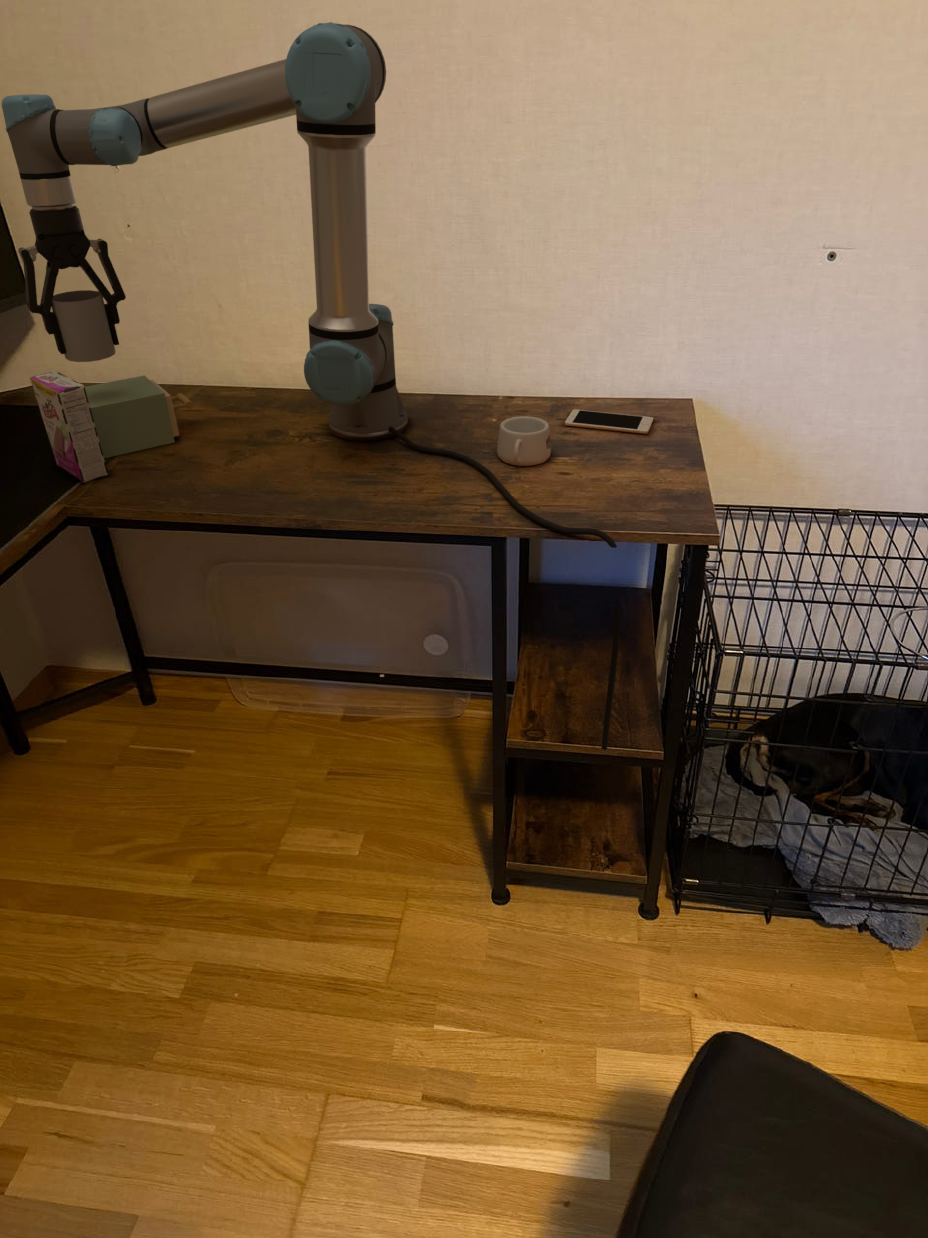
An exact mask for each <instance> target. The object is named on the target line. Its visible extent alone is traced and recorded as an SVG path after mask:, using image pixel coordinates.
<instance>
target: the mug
mask: <svg viewBox="0 0 928 1238" xmlns="http://www.w3.org/2000/svg"><path fill="white" fill-rule="evenodd" d="M550 431H551V430H550V424H549V422H547V421H546V420H545V419H543V418H540V417H536V416H530V415H528V416H527V415H523V416H522V415H521V416H512V417H509V418H507V419H504V420H502V422H500V424H499V431H498V440H497V446H496V455H497V456H498V458H499V459H500V460H501V461H502V462H503V463H506V464H509V465H513V466H520V467H528V466H535V465H540V464H543V463H544V462H546V461H547V460H548V459H550V457H551V453H552V444H551V432H550Z"/></svg>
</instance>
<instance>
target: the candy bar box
mask: <svg viewBox="0 0 928 1238" xmlns="http://www.w3.org/2000/svg"><path fill="white" fill-rule="evenodd" d="M29 380H30V383H31V386H32V390H33V392H34V396H35V399H36V402H37V405H38V409H39V413H40V416H41V419H42V421H43V424H44V428H45V430H46V434H47V438H48V441H49V444H50V448H51V450H52V454H53V457H54V460H55V464H56V466H57V467H59V468H61V469H62V470H64V471H65V472H66V473H68V474H70V475H71V476H73V477H74V478H76V479H77V480H79V481H80V482H82V483H83V484H85V483H89V482H92V481H95V480H97V479H101V478H104V477H107V476H109V472H108V468H107V464H106V459H105V458H104V456H103V452H102V449H101V445H100V442H99V438H98V434H97V431H96V427H95V423H94V419H93V416H92V412H91V408H90V405H89V401H88V398H87V394H86V390H85V387H86V385H84V384H82V383H80V382H78V381H77V380H75V379H73V378H71V377H68V376H67V375H65V374H63V373H61V372H60V371H57V370H53V371H50V372H44V373H40V374H35V375H33V376H30V377H29Z"/></svg>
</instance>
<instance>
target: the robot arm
mask: <svg viewBox="0 0 928 1238" xmlns="http://www.w3.org/2000/svg"><path fill="white" fill-rule="evenodd" d="M386 65H387V64H386V60H385V57H384V55H383V51H382V49H381V47H380V46H379V44H378V42H377V41H376V40H375V39H374V37H373V36H372V35H371V34H369V32H367V31H366V30H364V29H363V28H361V27H358V26H355V25H351V24H344V23H343V24H342V23H336V22H332V21H329V22H319V23H317V24H314V25H312V26H310V27H308V28H306V29H305V30H303V31H302V32H300V34H299V35H298V36H296V38H295V39H294V41H293V42H292V43H291V45H290V47H289V49H288V52H287V54H286V57H285V59H281V60H276V61H274V62H269V63H267V64H264V65H260V66H257V67H252V68H250V69H245V70H242V71H238V72H236V73H232V74H231V73H230V74H228V75H225V76H221V77H217V78H214V79H210V80H207V81H203V82H200V83H196V84H193V85H189V86H186V87H181V88H178V89H175V90H171V91H168V92H164V93H161V94H157V95H154V96H151V97H147V98H143V99H139V100H136V101H132V102H128V103H125V104H119V105H114V106H113V105H112V106H106V107H97V108H89V109H88V108H87V109H59V108H56V107H57V106H56V105H55V103H54V100H53V98H52V97H51V96H50V95H48V94H36V93H35V94H13V95H6V96H3V98H2V100H1V109H2V114H3V118H4V123H5V131H6V133H7V137H8V138H9V142H10V145H11V149H12V152H13V155H14V159H15V164H16V166H17V169H18V174H19V178H20V182H21V186H22V190H23V194H24V198H25V202H26V205H27V206H29V207H31V208H30V210H29V212H28V213H29V217H30V222H31V225H32V228H33V231H34V235H35V242H34V245H32V246H28V247H19V248H18V254H19V256H20V258H21V261H22V263H23V273H24V274H23V275H24V288H25V299H26V308H27V309H28V310H29V311H30V313H32V314H38V315H40V316H41V318H42V322H43V325H44V330H45V331H46V333H47V334H48V335H53V337H54V341H55V345H56V348H57V351H58V352H59V353H60V355H64V354H66V351H65V348H64V344H63V340H62V336H61V333H60V329H59V325H58V322H57V318H56V315H55V314H54V313H53V311H51V310H52V307H51V306H52V300H53V296H54V295H55V290H56V284H57V278H58V276H59V272H60V270H65V269H68V268H81V270H82V271H83V272H84V273H85V275H86V276H87V279H89V280H90V282H91V283H92V285H93V286H94V287H95V289H96V291H98V292H100V293H102V296H103V300H104V302H106V303H104V304H105V309H106V313H107V317H108V322H109V326H110V330H111V334H112V338H113V343H114V346H119V345H120V341H119V337H118V332H117V329H116V325H119V324H120V321H121V319H120V316H119V311H118V303H120V302H121V301H125V300H126V297H127V296H126V294H125V291H124V289H123V286H122V285H121V281H120V279H119V277H118V274H117V272H116V270H115V268H114V265H113V263H112V261H111V257H110V255H109V246H108V242H107V241H106V240H104V239H102V238H97V239H89V237H88V236H87V234H86V233H85V228H84V225H83V220H82V216H81V212H80V208H79V207H78V206H77V205H75V204H76V203H77V201H78V200H77V195H76V192H75V188H74V183H73V179H72V176H71V171H70V166H76V165H81V166H110V167H118V166H124V165H125V166H126V165H127V166H128V165H134V164H135V163H137V162H138V161H139V157H144V156H148V155H152V154H155V153H157V152H160V151H164V150H167V149H170V148H174V147H179V146H182V145H186V144H188V143H194V142H197V141H202V140H205V139H209V138H213V137H217V136H221V135H224V134H228V133H231V132H235V131H239V130H243V129H247V128H250V127H255V126H259V125H262V124H266V123H270V122H273V121H274V122H275V121H278V120H281V119H286V118H289V117H293V116H295V118H296V131H297V132H296V133H297V134H298V135H299V136H300V137H301V139H302V140H303V141H304V142H305V143H306V145H307V147H308V148H307V149H308V164H309V165H308V167H309V186H310V187H309V188H310V203H311V206H310V207H311V222H312V241H313V257H314V258H313V260H314V261H313V262H314V276H315V277H314V281H315V297H316V298H315V299H316V308H315V311H314V312H313V313H312V314H311V315H310V316H309V317H308V338H309V340H308V341H309V350H308V352H307V353H306V354H305V355H306V356H305V359H304V363H303V374H304V380H305V382H306V384H307V386H308V388H309V390H310V391H311V392H312V393H313V394H314V395H315V396H317V398H318V399H320V400H321V401H322V402H324V403H326V404H329V405H331V407H330V412H329V415H328V427H329V431H330V433H331V434H332V435H333V436H336V437H337V438H339V439H343V440H347V441H354V442H372V441H380V440H386V439H390V438H393V437H395V436H396V437H397V438H399V440H401V441H403V443H405V444H406V445H407V446H409V447H410V448H411V449H414V450H416V451H419V452H422V453H426V454H433V455H441V456H446V457H451V458H455V459H458V460H461V461H463V462H465V463H467V464H469V465H471V466H472V467H474V468H476V469H477V470H478V471H480V472H481V473H482V474H484V475H485V476H486V477H487V479H489V480H490V481H491V482H492V484H493V485H494V487H496V489H497V490H498V491H499V492H500V493H501V494H502V495H503V497H505V499H506V500H507V501H508V502H509V504H510V505H512V506H513V508H515V509H516V510H517V511H518V512H520V513H521V514H522V515H524V516H525V517H527V518H528V519H530V520H532V522H533V521H534V522H535V523H537V524H539V525H540V526H543V527H546V528H548V529H550V530H553V531H555V532H558V533H562V534H567V535H587V536H594V537H598V538H599V539H602V540H603V541H604V542H606V544H607V545H608V546H609V547H610V548H612V549H616V548H618V546H617V544H616V542H615V540H613V538H612V537H611V536H610V535H608V534H607V533H605V532H604V531H602V530H600V529H596V528H591V527H590V528H589V527H566V526H562V525H560V524H557V523H554V522H552V521H550V520H547V519H544V518H543V517H541V516H539V515H537V514H535V513H533V512H532V511H531V510H529V509H527V508H526V507H524V506H523V505H522V504H520V502H519V501H517V500H516V499H515V498H514V496H513V495H512V494H511V493H510V491H508V489H507V488H505V486H504V485H503V484H502V483H501V482H500V480H499V479H498V478H497V477H496V476H495V474H494V473H493V472H491V471H490V470H489V469H488V468H487V467H485V466H484V465H483V464H481V463H480V462H478V461H477V460H476V459H473V458H471V457H469V456H466V455H464V454H461V453H460V452H457V451H454V450H449V449H443V448H442V449H440V448H433V447H429V446H428V447H427V446H424V445H420V444H417V443H415V442H414V441H412V440H411V439H410V438H409V437H407V436H406V435H405V434H403V433H404V432H405V431H406V430H407V429H408V426H409V421H408V413H407V411H406V408H405V406H404V403H403V400H402V398H401V395H400V393H399V390H398V387H397V381H396V380H397V378H396V361H395V359H396V358H395V345H394V344H395V343H394V328H393V327H394V321H393V317H392V315H393V314H392V311H391V309H390V308H389V306H387V305H384V304H378V303H370V302H369V301H370V295H369V291H370V290H369V289H370V288H369V286H370V285H369V243H368V236H369V235H368V195H367V193H368V192H367V191H368V190H367V147H368V145H369V144H370V142H371V141H373V139H374V138H375V137H376V136H377V135H376V133H377V131H376V125H377V123H376V103H377V102H378V100H380V98H381V96H382V95H383V94H382V93H383V91H384V89H385V86H386V81H387V68H386V67H387V66H386ZM90 248H92V251H93V252H94V253H95V254H97V256H98V259H99V262H100V263H101V266H102V268H103V270H104V273H105V275H106V278H107V279H108V282H109V284H110V287H111V289H112V292H113V293H111V292H110V291H109V289H108V288H107V286H106V285H105V283H104V282H103V281H102V280H101V278H100V277H99V276H98V274H97V273H96V271H95V270H94V268H93V267H92V266H91V264H90V263H89V261H88V260H87V259H86V258H87V255H88V252H89V250H90ZM37 254H39V255H40V256H41V257H43V258H44V259H45V260H46V265H45V275H44V281H43V286H42V287H43V288H42V292H41V298H40V302H39V304H38V295H37V282H36V269H35V264H34V262H36V260H37ZM620 628H621V604H618V605H615V606H613V627H612V629H613V630H612V642H611V643H612V645H611V657H610V664H609V665H610V666H609V673H608V675H609V676H608V684H607V691H606V692H607V693H606V702H605V709H604V717H603V728H602V737H601V738H602V739H601V749H604V750H606V749H607V750H608V743H609V734H610V733H609V732H610V722H611V716H612V715H611V714H612V706H613V699H614V698H613V697H614V691H615V682H616V674H617V664H618V656H619V645H620V643H619V642H620V631H621V630H620Z"/></svg>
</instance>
